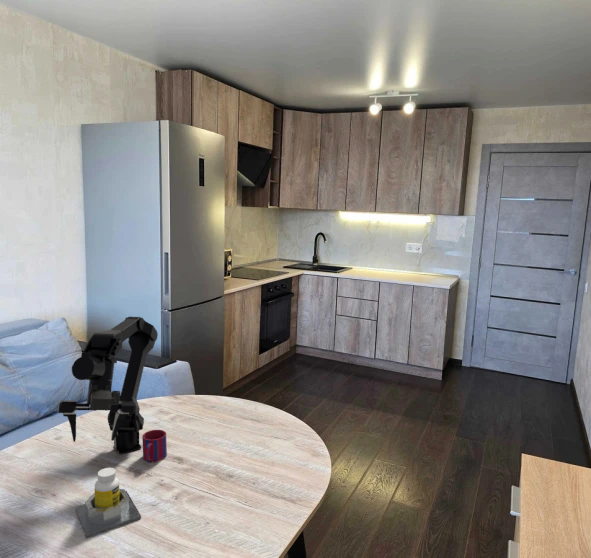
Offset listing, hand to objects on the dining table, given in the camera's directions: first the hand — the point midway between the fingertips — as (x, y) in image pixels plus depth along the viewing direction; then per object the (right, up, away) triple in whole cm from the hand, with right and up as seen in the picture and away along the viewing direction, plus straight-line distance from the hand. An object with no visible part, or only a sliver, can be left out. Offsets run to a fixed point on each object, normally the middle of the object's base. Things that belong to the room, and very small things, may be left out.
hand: (93, 441), depth 121 cm
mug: (+11, -11, +14) cm, 21 cm away
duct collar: (+8, -14, -11) cm, 19 cm away
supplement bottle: (+8, -13, -11) cm, 19 cm away
